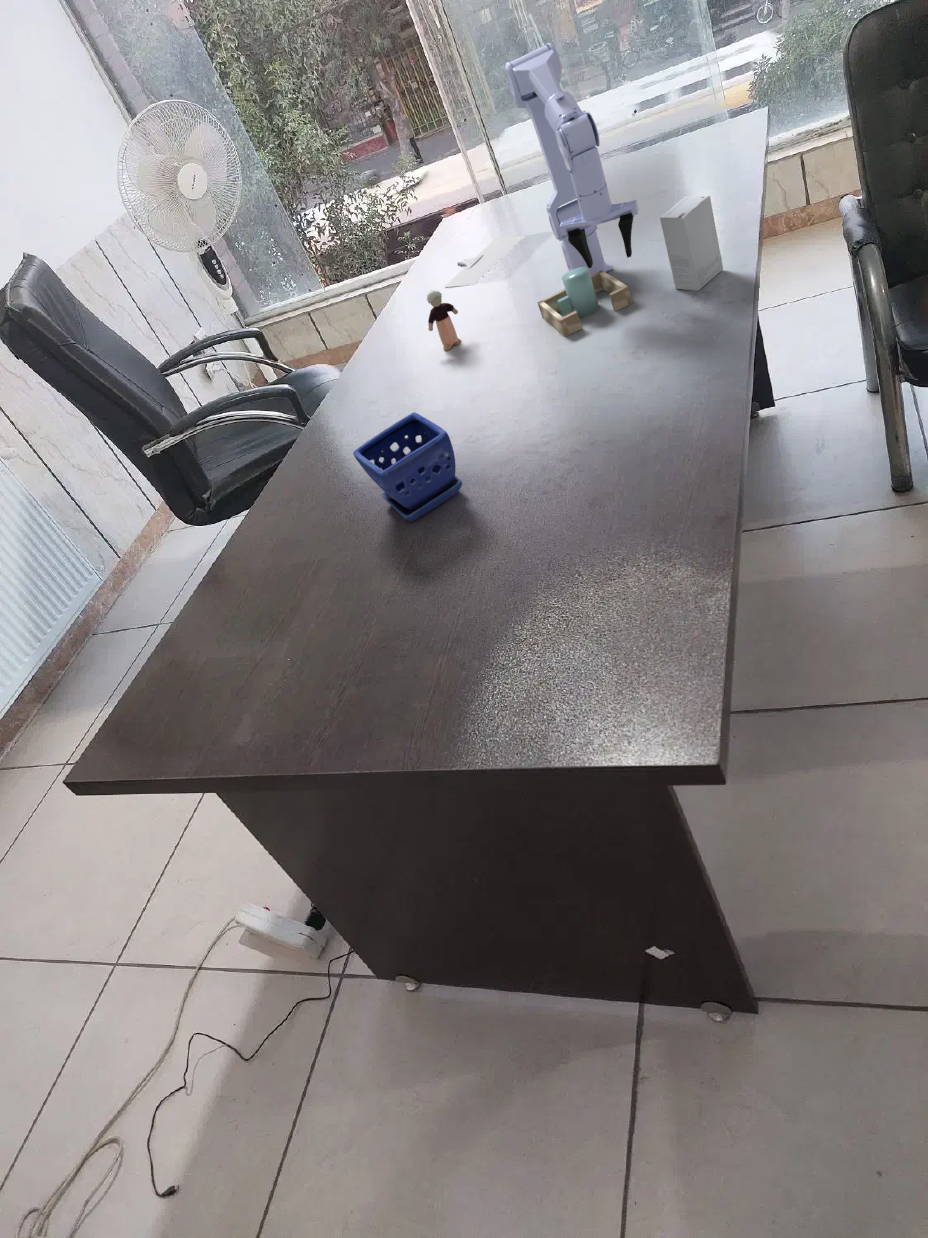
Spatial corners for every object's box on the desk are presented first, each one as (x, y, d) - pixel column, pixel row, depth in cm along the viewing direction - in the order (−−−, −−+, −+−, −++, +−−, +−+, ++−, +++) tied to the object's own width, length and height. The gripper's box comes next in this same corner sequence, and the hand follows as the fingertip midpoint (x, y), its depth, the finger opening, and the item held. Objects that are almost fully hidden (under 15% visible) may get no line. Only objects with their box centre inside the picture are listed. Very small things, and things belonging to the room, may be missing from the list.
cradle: (542, 317, 183) (537, 302, 181) (605, 285, 183) (601, 269, 181) (565, 336, 173) (560, 320, 171) (632, 302, 173) (628, 286, 170)
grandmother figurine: (447, 354, 188) (424, 299, 180) (436, 352, 191) (413, 299, 183) (471, 335, 191) (449, 280, 183) (460, 333, 193) (438, 280, 186)
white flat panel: (483, 242, 233) (482, 238, 232) (557, 234, 219) (555, 229, 218) (433, 290, 221) (431, 286, 220) (507, 284, 207) (505, 279, 206)
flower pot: (409, 533, 142) (379, 475, 134) (379, 505, 152) (349, 449, 145) (475, 490, 144) (449, 430, 136) (441, 465, 154) (414, 408, 147)
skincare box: (700, 268, 172) (685, 193, 163) (725, 269, 168) (711, 193, 159) (674, 290, 170) (657, 215, 161) (698, 292, 165) (682, 215, 156)
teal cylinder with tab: (559, 317, 180) (548, 281, 175) (593, 300, 180) (582, 264, 175) (569, 325, 176) (557, 288, 171) (603, 308, 176) (592, 270, 171)
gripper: (549, 209, 158) (570, 279, 167) (628, 185, 152) (645, 259, 160) (556, 194, 163) (576, 263, 171) (632, 170, 157) (648, 243, 165)
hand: (609, 260), depth 166 cm, fingers open, 7 cm apart
